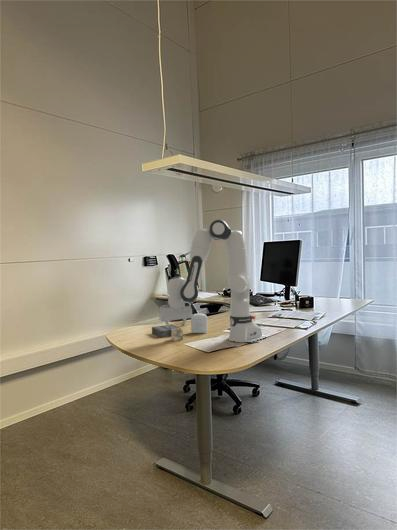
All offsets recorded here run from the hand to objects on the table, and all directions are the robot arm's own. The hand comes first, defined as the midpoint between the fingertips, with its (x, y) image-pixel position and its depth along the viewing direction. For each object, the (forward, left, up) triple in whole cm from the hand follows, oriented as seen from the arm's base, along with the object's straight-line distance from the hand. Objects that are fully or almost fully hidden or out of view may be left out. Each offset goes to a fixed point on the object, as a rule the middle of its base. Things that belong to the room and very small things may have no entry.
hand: (175, 327), depth 211 cm
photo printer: (-19, -7, -8) cm, 22 cm away
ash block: (0, 0, -8) cm, 8 cm away
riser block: (0, -16, -8) cm, 17 cm away
